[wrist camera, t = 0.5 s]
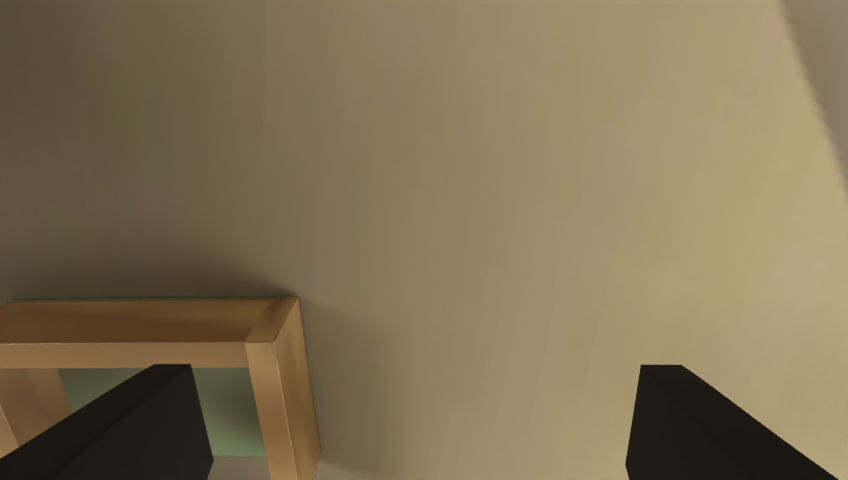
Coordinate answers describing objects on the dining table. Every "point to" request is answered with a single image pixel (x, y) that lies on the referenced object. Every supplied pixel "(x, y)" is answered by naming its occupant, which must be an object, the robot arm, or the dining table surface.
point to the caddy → (166, 344)
